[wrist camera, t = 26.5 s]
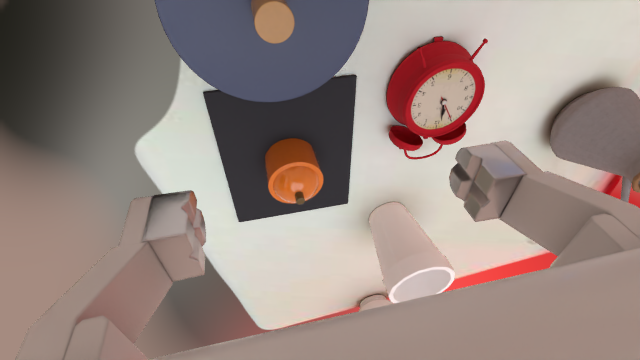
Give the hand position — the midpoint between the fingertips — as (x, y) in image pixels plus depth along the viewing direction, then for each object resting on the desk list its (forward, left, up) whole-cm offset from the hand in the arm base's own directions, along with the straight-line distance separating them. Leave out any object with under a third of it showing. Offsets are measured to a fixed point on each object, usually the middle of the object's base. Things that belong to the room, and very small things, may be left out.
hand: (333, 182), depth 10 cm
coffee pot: (+24, +44, -25) cm, 56 cm away
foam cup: (+34, +16, -25) cm, 45 cm away
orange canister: (+19, +1, -25) cm, 31 cm away
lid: (0, 0, -20) cm, 20 cm away
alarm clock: (+13, +18, -25) cm, 34 cm away
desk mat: (+19, +1, -25) cm, 31 cm away
